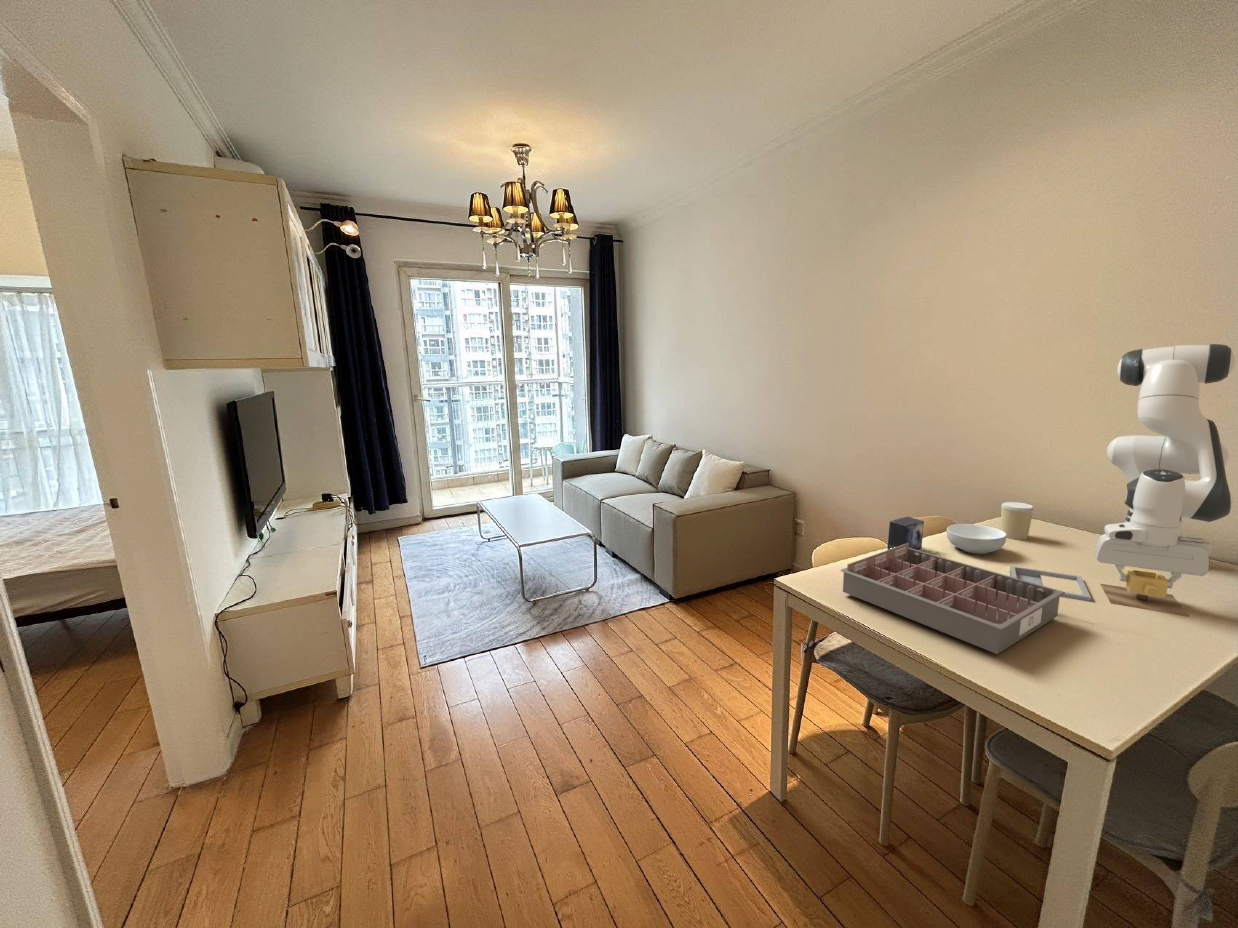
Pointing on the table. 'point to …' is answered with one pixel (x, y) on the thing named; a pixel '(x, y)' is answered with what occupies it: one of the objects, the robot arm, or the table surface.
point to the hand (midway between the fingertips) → (1144, 583)
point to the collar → (1146, 583)
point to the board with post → (1143, 600)
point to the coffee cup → (1016, 519)
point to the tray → (1035, 577)
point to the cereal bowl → (976, 538)
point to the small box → (905, 533)
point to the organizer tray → (952, 596)
